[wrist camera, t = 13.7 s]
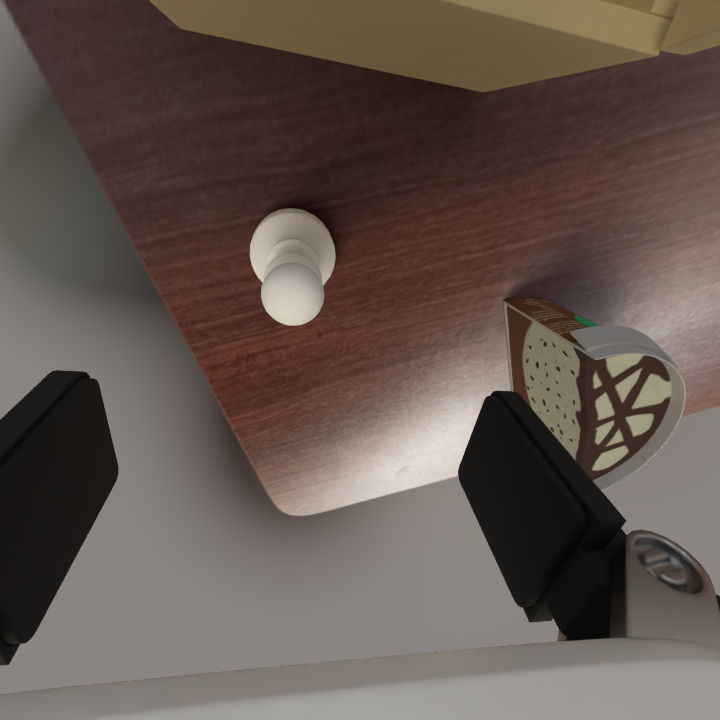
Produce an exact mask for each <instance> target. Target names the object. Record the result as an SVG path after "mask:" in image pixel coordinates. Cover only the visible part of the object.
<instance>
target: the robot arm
mask: <svg viewBox="0 0 720 720" xmlns="http://www.w3.org/2000/svg"><path fill="white" fill-rule="evenodd" d="M117 476H118V463H117V459H116V455H115V451H114V446H113V442H112V438H111V433H110V429H109V425H108V421H107V417H106V412H105V408H104V404H103V399H102V395H101V391H100V387H99V384H98V381H97V380H96V379H90V376H89V375H88V374H87V373H86V372H79V371H58V370H56V371H52V372H51V373H49V374H48V375H47V376H46V377H45V378H44V379H43V380H42V381H41V382H40V383H39V384H38V385H37V386H36V387H34V388H33V390H31V391H30V392H29V393H28V394H27V395H26V396H25V397H24V398H23V399H22V400H21V401H20V402H19V403H18V404H17V405H15V407H13V408H12V409H11V410H10V411H9V412H8V413H7V414H6V415H5V416H4V417H3V418H2V419H1V420H0V665H9V663H10V662H11V660H12V658H13V656H14V654H15V653H16V651H17V649H18V647H19V645H20V644H22V643H26V642H28V641H29V640H30V639H31V638H32V637H33V635H34V634H35V632H36V630H37V629H38V627H39V625H40V623H41V621H42V619H43V617H44V616H45V614H46V612H47V610H48V608H49V606H50V604H51V602H52V600H53V599H54V597H55V595H56V593H57V591H58V589H59V587H60V586H61V584H62V582H63V580H64V578H65V576H66V574H67V572H68V571H69V569H70V567H71V565H72V563H73V561H74V559H75V557H76V556H77V553H78V552H79V550H80V548H81V546H82V544H83V542H84V541H85V539H86V537H87V535H88V533H89V531H90V529H91V527H92V526H93V524H94V522H95V520H96V518H97V516H98V514H99V512H100V510H101V509H102V507H103V505H104V503H105V501H106V499H107V497H108V496H109V494H110V492H111V490H112V488H113V486H114V484H115V482H116V480H117ZM458 476H459V481H460V483H461V485H462V488H463V489H464V492H465V494H466V496H467V498H468V500H469V503H470V505H471V507H472V509H473V512H474V514H475V516H476V518H477V520H478V522H479V525H480V527H481V529H482V531H483V533H484V535H485V538H486V540H487V542H488V544H489V546H490V549H491V551H492V553H493V555H494V557H495V560H496V562H497V564H498V566H499V568H500V571H501V573H502V575H503V577H504V579H505V582H506V584H507V586H508V588H509V590H510V592H511V594H512V597H513V599H514V601H515V602H516V604H517V605H518V606H520V607H523V609H524V611H525V614H526V616H527V618H528V620H529V622H541V621H551V620H552V619H553V618H554V620H555V622H556V624H557V626H558V628H559V634H558V641H557V642H546V643H533V644H522V645H511V646H499V647H487V648H477V649H465V650H453V651H442V652H430V653H419V654H408V655H397V656H386V657H375V658H365V659H355V660H354V659H353V660H342V661H332V662H321V663H310V664H300V665H289V666H278V667H268V668H257V669H246V670H235V671H225V672H215V673H205V674H194V675H184V676H174V677H164V678H154V679H144V680H133V681H123V682H114V683H102V684H93V685H82V686H72V687H62V688H53V689H45V690H36V691H28V692H18V693H10V694H1V695H0V720H720V596H718V595H716V594H715V590H714V586H713V584H712V582H711V579H710V577H709V575H708V574H707V572H706V571H705V569H704V568H703V567H702V565H701V564H700V563H699V562H698V561H697V560H696V559H695V558H694V557H693V556H692V555H691V554H690V553H689V552H687V551H686V550H685V549H683V548H682V547H681V546H679V545H678V544H677V543H675V542H673V541H671V540H670V539H668V538H666V537H664V536H662V535H659V534H656V533H654V532H651V531H645V530H636V531H632V532H631V533H629V534H628V535H626V534H625V533H624V531H623V530H622V529H621V527H622V526H623V525H624V523H625V522H626V520H625V519H624V518H623V516H622V515H621V514H620V513H619V512H618V510H617V509H616V508H615V507H614V506H613V504H612V503H611V502H610V501H609V500H608V499H607V497H606V496H605V495H604V494H603V493H602V491H601V490H600V489H599V488H598V487H597V485H596V484H595V483H594V482H593V481H592V479H591V478H590V477H589V476H588V475H587V474H586V472H585V471H584V470H583V469H582V468H581V466H580V465H579V464H578V463H577V462H576V460H575V459H574V458H573V457H572V456H571V455H570V453H569V452H568V451H567V450H566V449H565V447H564V446H563V445H562V444H561V443H560V441H559V440H558V439H557V438H556V437H555V436H554V434H553V433H552V432H551V431H550V430H549V428H548V427H547V426H546V425H545V424H544V422H543V421H542V420H541V419H540V418H539V417H538V415H537V414H536V413H535V412H534V411H533V409H532V408H531V407H530V406H529V405H528V403H527V402H526V401H525V400H524V399H523V398H522V396H521V395H520V394H519V393H518V392H513V391H494V392H493V393H492V394H491V396H487V397H486V398H485V400H484V403H483V405H482V408H481V411H480V413H479V416H478V418H477V421H476V424H475V426H474V429H473V432H472V434H471V437H470V440H469V442H468V445H467V448H466V450H465V453H464V455H463V458H462V461H461V463H460V466H459V470H458Z"/></svg>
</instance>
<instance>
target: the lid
mask: <svg viewBox="0 0 720 720" xmlns="http://www.w3.org/2000/svg"><path fill="white" fill-rule="evenodd" d="M718 45H720V0H681V1H680V4H679V6H678V8H677V11H676V13H675V15H674V18H673V20H672V23H671V25H670V27H669V30H668V32H667V34H666V37H665V39H664V41H663V44H662V46H661V49H660V50H661V51H665V52H670V53H676V54H681V55H688V54H691V53H695V52H698V51H701V50H705V49H708V48H711V47H715V46H718Z"/></svg>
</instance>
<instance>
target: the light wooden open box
mask: <svg viewBox="0 0 720 720" xmlns="http://www.w3.org/2000/svg"><path fill="white" fill-rule="evenodd" d="M149 1H150V2H151V3H153V4H154V5H155V6H156V7H157V8H158V9H159V10H160V11H161V12H162V13H164V14H165V15H166V16H167V17H168V18H169V19H170V20H171V21H172V22H173V23H175V24H176V25H177V26H178V27H179V28H180V29H183V30H188V31H193V32H198V33H202V34H207V35H212V36H217V37H221V38H226V39H231V40H236V41H240V42H245V43H250V44H255V45H260V46H264V47H269V48H274V49H279V50H283V51H288V52H293V53H298V54H302V55H307V56H312V57H317V58H322V59H326V60H331V61H336V62H341V63H345V64H350V65H355V66H360V67H364V68H369V69H374V70H379V71H383V72H388V73H393V74H398V75H403V76H407V77H412V78H417V79H422V80H426V81H431V82H436V83H441V84H445V85H450V86H455V87H460V88H465V89H469V90H474V91H479V92H488V91H493V90H498V89H503V88H508V87H512V86H517V85H522V84H527V83H531V82H536V81H541V80H546V79H550V78H555V77H560V76H565V75H570V74H574V73H579V72H584V71H589V70H593V69H598V68H603V67H608V66H612V65H617V64H622V63H627V62H631V61H636V60H641V59H646V58H651V57H655V56H658V55H659V53H660V51H661V50H660V49H661V46H662V44H663V41H664V39H665V37H666V34H667V32H668V30H669V27H670V25H671V23H672V19H673V18H674V15H675V13H676V11H677V8H678V6H679V4H680V1H681V0H149Z"/></svg>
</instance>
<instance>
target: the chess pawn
mask: <svg viewBox="0 0 720 720" xmlns="http://www.w3.org/2000/svg"><path fill="white" fill-rule="evenodd" d="M335 258H336V255H335V246H334V243H333V241H332V238H331V235H330V233H329V231H328V229H327V228H326V226H325V225H324V224H323V222H322V221H321V220H319V219H318V218H317V217H316V216H315V215H313V214H311V213H309V212H307V211H305V210H301V209H295V208H287V209H280V210H278V211H275V212H273V213H270V214H269V215H268V216H267V217H265V218H264V219H263V220H262V221H261V222H260V224H259V225H258V227H257V228H256V230H255V233H254V235H253V238H252V241H251V244H250V259H251V263H252V267H253V269H254V271H255V273H256V275H257V277H258V278H259V279H260V280H261V281H262V282H263V284H262V287H261V298H262V303H263V305H264V307H265V309H266V311H267V313H268V314H269V315H270V316H271V317H272V318H273V319H275V320H276V321H278V322H280V323H282V324H285V325H292V326H295V325H302V324H304V323H307V322H309V321H310V320H312V319H313V318H315V316H316V315H317V314H318V313H319V311H320V309H321V307H322V305H323V301H324V289H323V285H324V284H325V283H326V281H327V280H328V279H329V278H330V276H331V273H332V271H333V269H334V265H335Z"/></svg>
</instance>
